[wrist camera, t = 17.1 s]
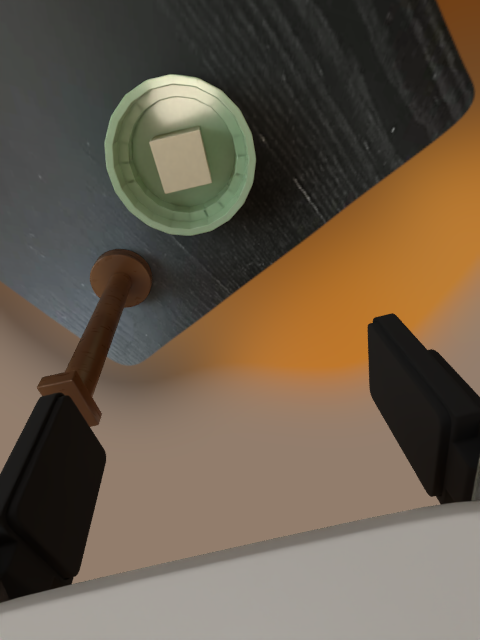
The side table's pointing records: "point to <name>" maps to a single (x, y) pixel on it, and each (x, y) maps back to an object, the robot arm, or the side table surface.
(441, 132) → the side table surface
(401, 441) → the robot arm
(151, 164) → the green round bowl
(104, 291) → the stand
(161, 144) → the block
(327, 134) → the side table surface
